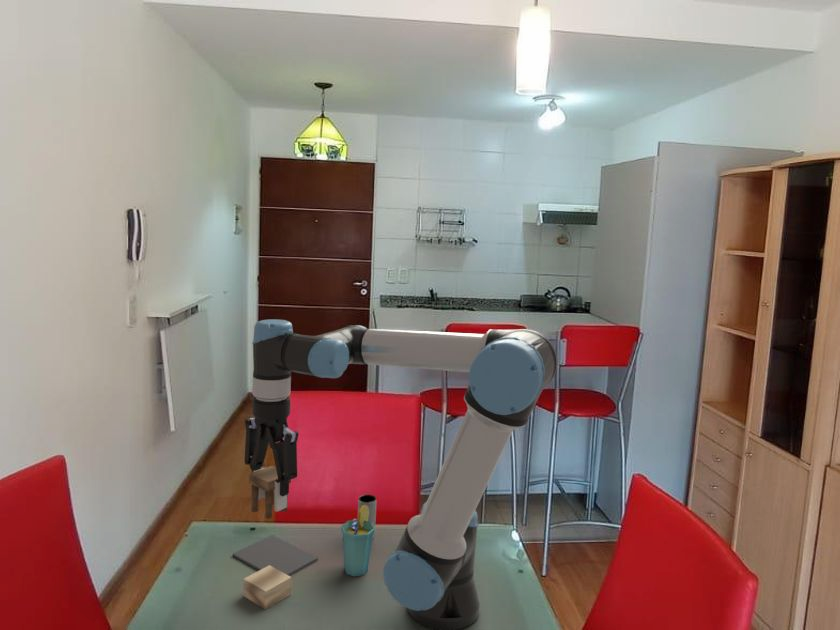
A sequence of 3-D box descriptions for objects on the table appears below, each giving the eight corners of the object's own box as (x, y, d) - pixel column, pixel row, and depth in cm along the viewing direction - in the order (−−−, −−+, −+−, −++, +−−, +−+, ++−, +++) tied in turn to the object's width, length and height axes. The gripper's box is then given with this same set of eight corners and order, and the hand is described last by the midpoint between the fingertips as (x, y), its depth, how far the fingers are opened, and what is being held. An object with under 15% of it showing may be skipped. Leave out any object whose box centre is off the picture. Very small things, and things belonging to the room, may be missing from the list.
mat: (317, 560, 151) (317, 557, 151) (278, 581, 142) (279, 579, 142) (272, 537, 161) (272, 534, 161) (232, 556, 151) (232, 553, 151)
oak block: (291, 594, 137) (291, 577, 137) (265, 609, 132) (265, 591, 131) (269, 582, 141) (269, 565, 141) (243, 596, 136) (243, 578, 135)
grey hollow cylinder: (367, 530, 167) (369, 492, 165) (378, 537, 163) (380, 499, 162) (353, 535, 164) (354, 497, 162) (363, 542, 161) (365, 503, 159)
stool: (290, 509, 134) (291, 473, 133) (267, 519, 129) (268, 482, 128) (270, 501, 138) (271, 465, 136) (248, 510, 133) (248, 473, 132)
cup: (367, 591, 140) (370, 527, 138) (332, 587, 141) (334, 523, 138) (376, 557, 154) (379, 498, 152) (344, 554, 154) (346, 495, 152)
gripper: (318, 402, 127) (315, 512, 131) (255, 383, 138) (253, 485, 142) (290, 410, 121) (287, 525, 125) (226, 390, 132) (225, 496, 136)
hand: (269, 503), depth 133 cm, fingers closed on stool, 6 cm apart
